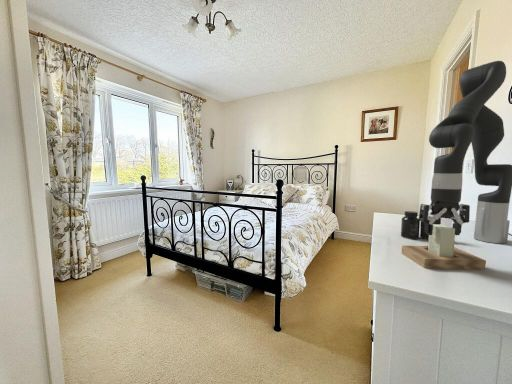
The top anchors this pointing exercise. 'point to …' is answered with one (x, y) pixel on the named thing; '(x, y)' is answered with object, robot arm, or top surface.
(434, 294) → the top surface
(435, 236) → the skincare box
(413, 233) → the supplement bottle
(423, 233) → the battery charger
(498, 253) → the top surface
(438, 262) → the board
